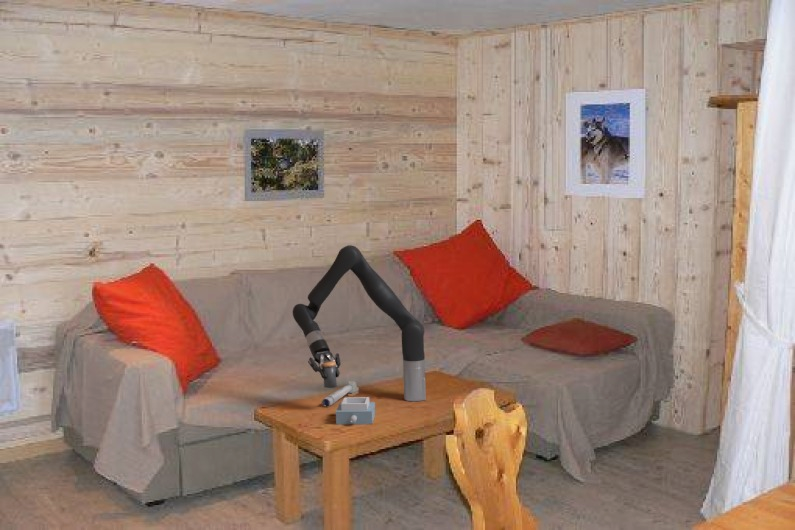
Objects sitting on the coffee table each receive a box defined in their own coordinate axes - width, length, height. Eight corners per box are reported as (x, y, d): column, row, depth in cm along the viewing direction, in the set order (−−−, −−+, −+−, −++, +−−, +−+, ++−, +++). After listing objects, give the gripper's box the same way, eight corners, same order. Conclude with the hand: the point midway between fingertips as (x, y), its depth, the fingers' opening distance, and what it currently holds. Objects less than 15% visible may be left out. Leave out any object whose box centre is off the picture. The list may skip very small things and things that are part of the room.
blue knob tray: (375, 414, 359) (374, 395, 358) (371, 426, 342) (370, 407, 341) (340, 414, 360) (340, 396, 359) (335, 426, 343) (334, 407, 342)
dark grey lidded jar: (337, 384, 369) (336, 360, 368) (335, 387, 363) (334, 363, 362) (324, 384, 369) (323, 361, 368) (322, 388, 364) (321, 364, 363)
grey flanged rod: (319, 398, 372) (349, 377, 394) (321, 412, 374) (351, 391, 395) (330, 399, 370) (360, 378, 391) (332, 414, 371) (361, 392, 393)
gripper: (304, 341, 367) (318, 374, 358) (335, 336, 374) (350, 369, 365) (299, 351, 372) (313, 385, 363) (330, 346, 379) (344, 379, 370)
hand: (331, 377), depth 364 cm, fingers closed on dark grey lidded jar, 5 cm apart
